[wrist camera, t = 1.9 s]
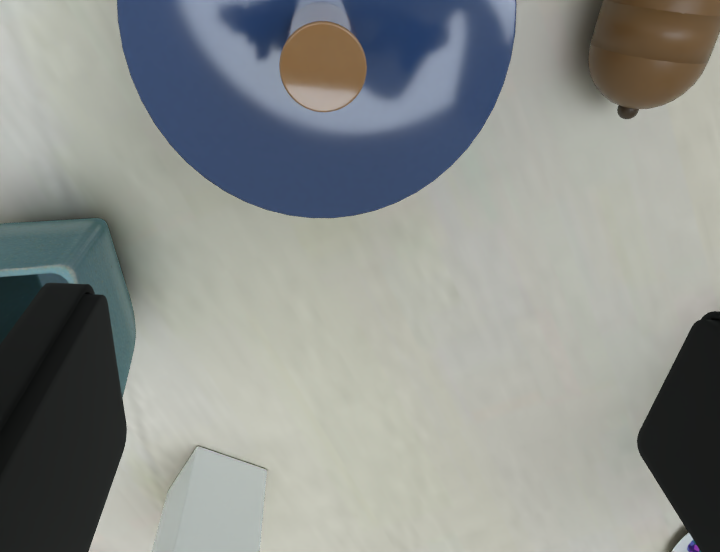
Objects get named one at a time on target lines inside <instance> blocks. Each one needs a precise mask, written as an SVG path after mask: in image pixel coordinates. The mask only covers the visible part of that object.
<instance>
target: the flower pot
mask: <svg viewBox="0 0 720 552" xmlns="http://www.w3.org/2000/svg"><path fill="white" fill-rule="evenodd" d="M46 283H73V284H89V285H91V286H92V288H93V290H94V292H95V294H98V295H104V296H105V297H106V299H107V302H108V307H109V314H110V320H111V327H112V334H113V340H114V347H115V353H116V360H117V367H118V373H119V380H120V386H121V393H122V397H123V393H124V389H125V385H126V381H127V377H128V373H129V369H130V364H131V360H132V356H133V351H134V346H135V338H136V328H135V318H134V312H133V307H132V303H131V299H130V296H129V293H128V290H127V287H126V284H125V280H124V277H123V274H122V271H121V267H120V264H119V261H118V258H117V255H116V251H115V248H114V245H113V241H112V238H111V235H110V231H109V228H108V225H107V223H106V222H105V221H104V220H103V219H100V218H87V219H71V220H55V221H38V222H19V223H4V224H0V344H1V343H2V341H3V340H4V339H5V337H6V336H7V334H8V333H9V332H10V330H11V329H12V328H13V326H14V325H15V323H16V322H17V321H18V319H19V318H20V317H21V315H22V314H23V313H24V311H25V310H26V308H27V307H28V306H29V304H30V303H31V302H32V300H33V299H34V297H35V296H36V295H37V293H38V292H39V291H40V289H41V288H42V287H43V286H44V285H45V284H46Z"/></svg>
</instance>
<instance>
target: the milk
mask: <svg viewBox="0 0 720 552" xmlns="http://www.w3.org/2000/svg"><path fill="white" fill-rule="evenodd" d="M266 476H267V470H266V469H263V468H260V467H258V466H255V465H252V464H249V463H246V462H243V461H240V460H237V459H234V458H231V457H229V456H226V455H223V454H220V453H217V452H214V451H211V450H208V449H205V448H202V447H199V446H197V447H196V449H195V450H194V452H193V454H192V455H191V457H190V458H189V460H188V461H187V463H186V464H185V466H184V467H183V469H182V470H181V472H180V473H179V475H178V476H177V478H176V479H175V481H174V482H173V484H172V485H171V487H170V489H169V490H168V492H167V496H166V500H165V504H164V507H163V511H162V515H161V519H160V523H159V526H158V530H157V534H156V538H155V542H154V545H153V549H152V552H260V542H261V531H262V520H263V509H264V498H265V487H266Z"/></svg>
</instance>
